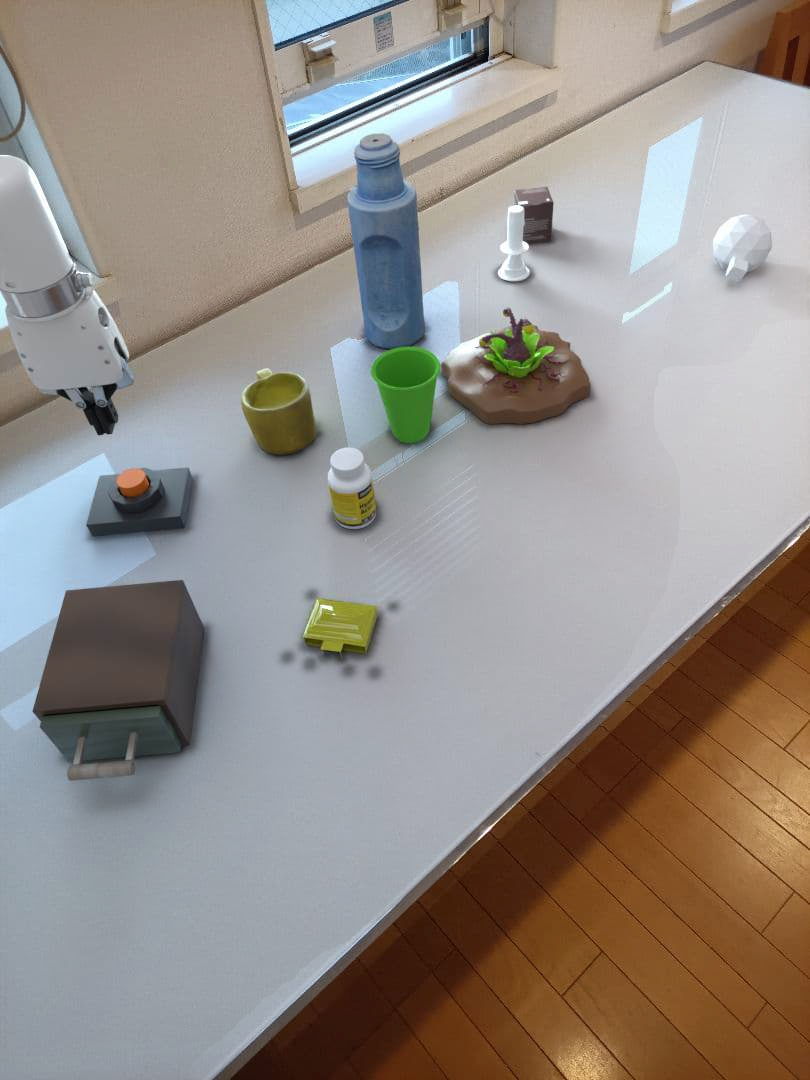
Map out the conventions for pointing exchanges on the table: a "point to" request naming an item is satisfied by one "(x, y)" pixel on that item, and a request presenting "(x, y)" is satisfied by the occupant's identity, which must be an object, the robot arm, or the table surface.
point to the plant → (515, 374)
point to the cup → (407, 390)
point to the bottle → (386, 245)
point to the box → (536, 213)
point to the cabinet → (125, 652)
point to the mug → (279, 412)
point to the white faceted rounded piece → (742, 245)
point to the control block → (141, 504)
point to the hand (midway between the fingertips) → (107, 426)
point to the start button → (132, 482)
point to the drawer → (110, 738)
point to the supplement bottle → (351, 489)
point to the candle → (514, 247)
